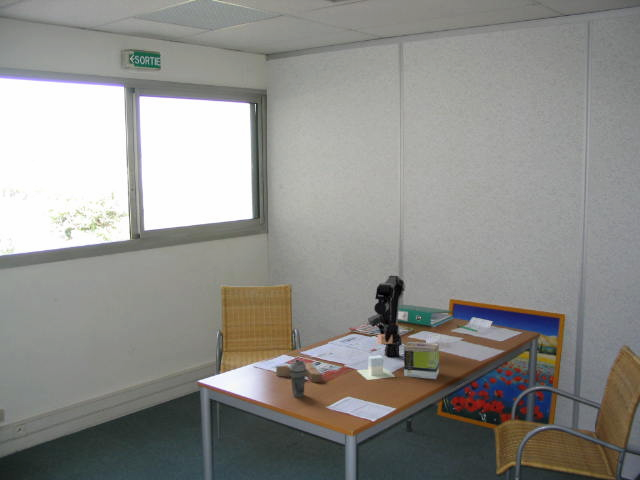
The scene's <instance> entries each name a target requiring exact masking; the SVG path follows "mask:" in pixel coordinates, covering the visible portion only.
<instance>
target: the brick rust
mask: <svg viewBox="0 0 640 480" xmlns="http://www.w3.org/2000/svg"><path fill="white" fill-rule="evenodd" d="M377 343H378V344H380V345H384V344H390V343H392V335H391V337H390V339H389V341H388V342H386V340H385V334H381V333H380V334H377Z"/></svg>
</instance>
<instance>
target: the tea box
mask: <svg viewBox="0 0 640 480" xmlns="http://www.w3.org/2000/svg"><path fill="white" fill-rule="evenodd" d="M439 346H440V344H439V343H437V342H436V343H435V342H419V341H407V342H406V343H405V345H404V347H403V369H404V370H403V372H404V374H403V375H404V377H409V378H410V377H411V378H412V377H413V378H422V379H431V380H437V377H438V376H439V371H440V352H439V351H440V350H439V349H440V347H439Z"/></svg>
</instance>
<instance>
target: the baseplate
mask: <svg viewBox="0 0 640 480" xmlns="http://www.w3.org/2000/svg"><path fill="white" fill-rule="evenodd" d="M356 372H357V373H359V374H360V375H361V376H363V378H365V380H367V381H371V380H377V379H380V380H381V379H387V378H394V377H396V376H395V375H394V374H393V373H391V372H390V371H389V370H388V369H386V368H385V367H384V366H383V374H379V375H370V374H369V373H368V368H367V369H359V370H358V369H357V370H356Z"/></svg>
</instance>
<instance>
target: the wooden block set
mask: <svg viewBox="0 0 640 480" xmlns="http://www.w3.org/2000/svg"><path fill="white" fill-rule="evenodd" d="M303 363H304V364H305V366H306V374H305V378H307V377H308V378H307V379H309V380H310V381H312V383H322V382H323V374H322V372H320V371H319V370H318V369H317V368H316V366H314V365H313V364H311V362H303ZM275 369H276V370H275V371H276V376H277V377H285V378H291V374H290V366H289V365H279V366H278V365H277V366H276V368H275Z"/></svg>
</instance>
